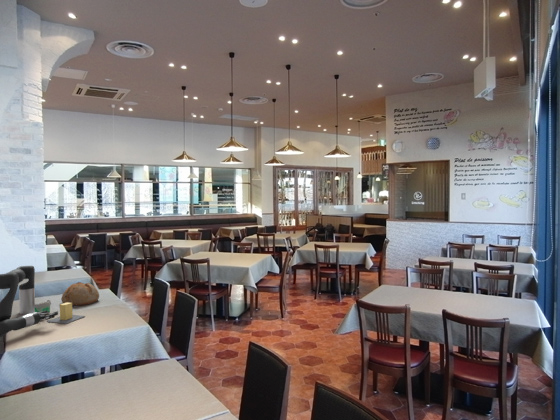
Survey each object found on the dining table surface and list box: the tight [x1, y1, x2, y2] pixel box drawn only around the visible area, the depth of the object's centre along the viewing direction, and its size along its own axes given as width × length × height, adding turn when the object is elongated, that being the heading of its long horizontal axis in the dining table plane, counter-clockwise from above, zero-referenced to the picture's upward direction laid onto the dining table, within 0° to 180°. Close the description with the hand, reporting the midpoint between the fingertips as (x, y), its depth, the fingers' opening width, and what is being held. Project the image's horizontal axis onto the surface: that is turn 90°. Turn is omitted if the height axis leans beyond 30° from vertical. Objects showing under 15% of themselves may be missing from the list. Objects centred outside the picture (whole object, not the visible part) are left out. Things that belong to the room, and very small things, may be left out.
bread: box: [61, 281, 100, 306], centre depth 300 cm, size 26×23×15 cm
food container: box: [34, 299, 52, 315], centre depth 262 cm, size 12×6×10 cm, turn 168°
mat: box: [46, 314, 86, 325], centre depth 256 cm, size 16×16×1 cm
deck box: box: [59, 302, 73, 320], centre depth 256 cm, size 5×6×10 cm
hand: (52, 312), depth 246 cm, fingers open, 8 cm apart
